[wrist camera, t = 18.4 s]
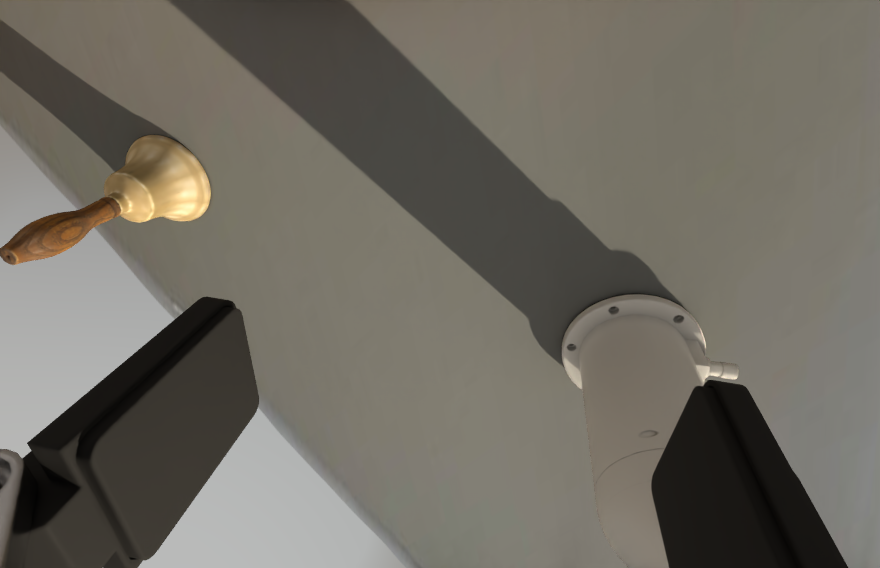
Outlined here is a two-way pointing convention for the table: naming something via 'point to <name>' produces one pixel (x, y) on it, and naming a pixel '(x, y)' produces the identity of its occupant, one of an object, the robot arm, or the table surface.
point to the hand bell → (123, 199)
